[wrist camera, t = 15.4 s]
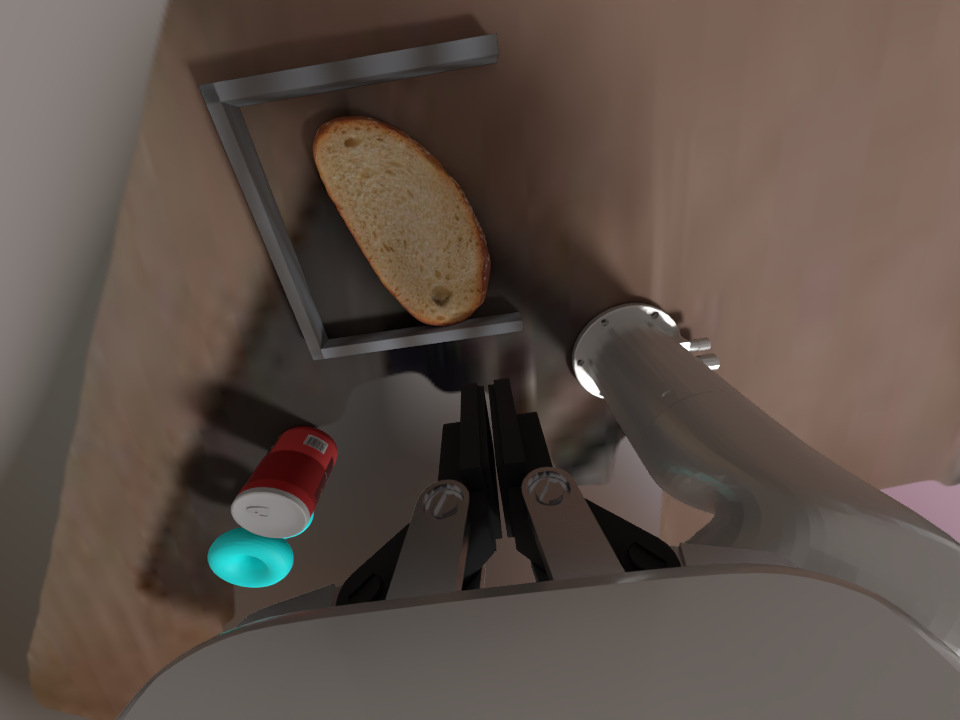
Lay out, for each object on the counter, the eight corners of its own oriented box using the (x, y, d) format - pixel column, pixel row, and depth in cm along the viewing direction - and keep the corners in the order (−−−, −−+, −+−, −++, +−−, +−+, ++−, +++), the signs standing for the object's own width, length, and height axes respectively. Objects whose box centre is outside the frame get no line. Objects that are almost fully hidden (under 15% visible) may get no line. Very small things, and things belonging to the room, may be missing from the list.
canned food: (271, 424, 46) (219, 492, 36) (333, 423, 46) (298, 491, 36) (286, 467, 49) (242, 540, 40) (344, 466, 50) (314, 538, 40)
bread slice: (313, 104, 30) (294, 96, 27) (515, 151, 32) (520, 149, 29) (317, 301, 38) (303, 313, 35) (478, 328, 41) (479, 342, 37)
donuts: (209, 589, 46) (195, 541, 41) (251, 521, 54) (242, 475, 50) (289, 594, 47) (284, 548, 42) (317, 527, 56) (315, 483, 51)
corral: (494, 43, 28) (496, 33, 26) (520, 321, 40) (523, 330, 38) (218, 91, 29) (198, 85, 27) (322, 350, 41) (313, 360, 39)
